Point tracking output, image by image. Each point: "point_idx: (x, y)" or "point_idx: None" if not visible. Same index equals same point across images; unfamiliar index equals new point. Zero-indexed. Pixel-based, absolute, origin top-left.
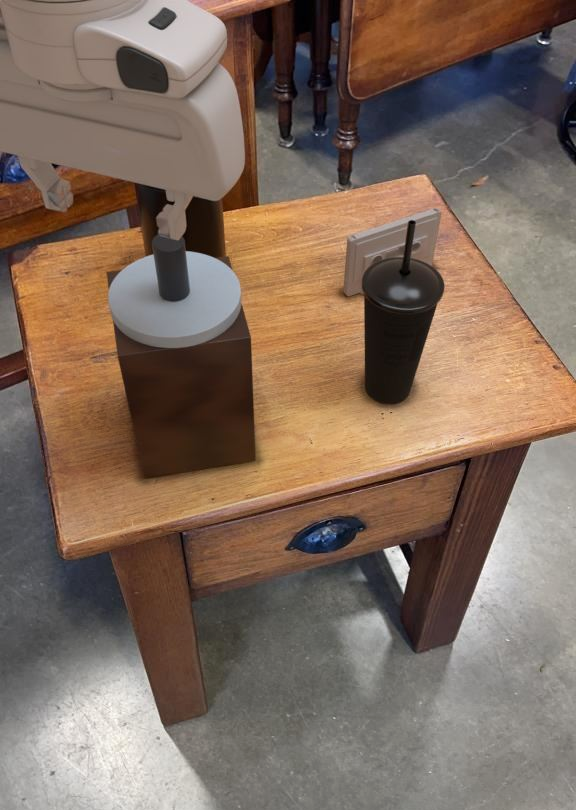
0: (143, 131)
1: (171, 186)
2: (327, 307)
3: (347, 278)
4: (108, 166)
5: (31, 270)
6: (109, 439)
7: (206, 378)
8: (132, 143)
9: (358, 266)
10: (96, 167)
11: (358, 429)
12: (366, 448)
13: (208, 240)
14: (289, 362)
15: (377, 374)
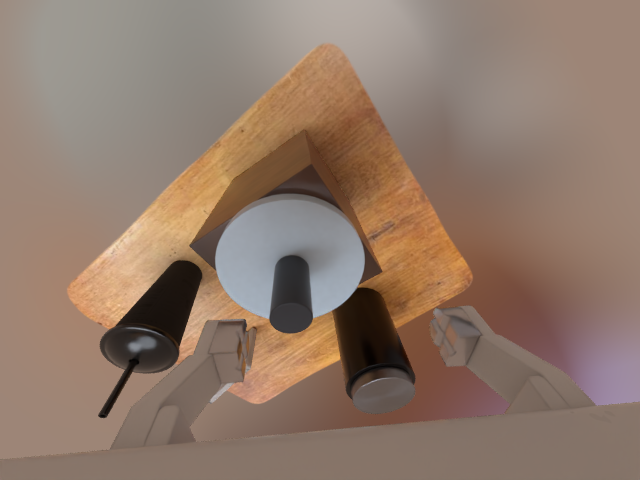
0: None
1: (96, 473)
2: (260, 316)
3: (251, 339)
4: (320, 476)
5: (464, 277)
6: (348, 157)
7: (239, 198)
8: None
9: None
10: (363, 455)
11: (181, 234)
12: (165, 221)
13: (342, 335)
14: None
15: (174, 276)
